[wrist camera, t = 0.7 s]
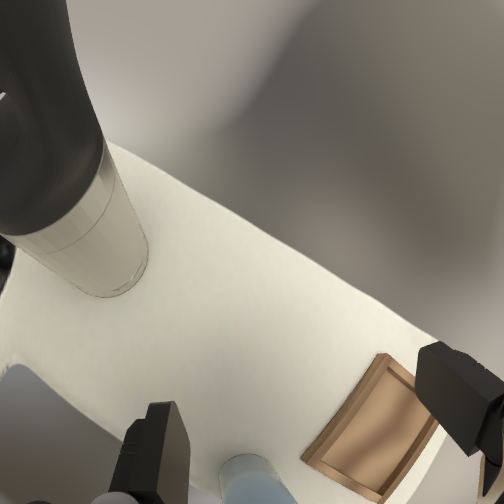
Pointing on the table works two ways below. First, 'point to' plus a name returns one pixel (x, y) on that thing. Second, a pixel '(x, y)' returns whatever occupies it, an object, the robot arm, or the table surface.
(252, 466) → the pale blue cylinder
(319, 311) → the table surface
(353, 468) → the tray
